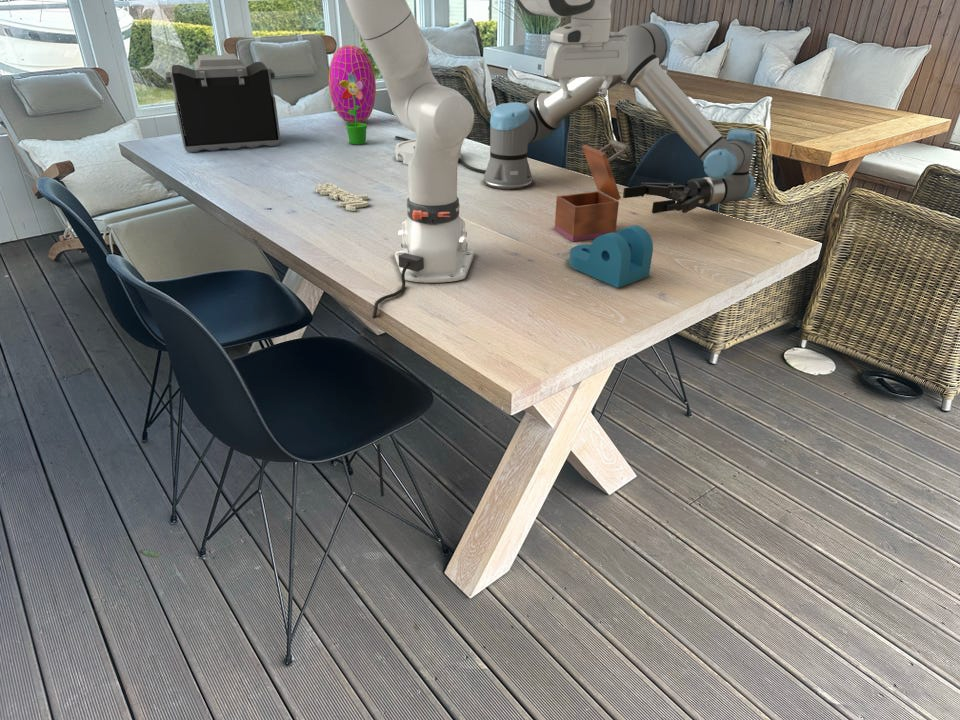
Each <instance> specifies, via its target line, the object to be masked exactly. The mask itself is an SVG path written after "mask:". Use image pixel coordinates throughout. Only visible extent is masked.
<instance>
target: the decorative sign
mask: <svg viewBox="0 0 960 720" xmlns="http://www.w3.org/2000/svg"><path fill="white" fill-rule="evenodd" d="M317 186H318V187H316V188H315V192H316V193H319V194H320V196H321V195H322V196H323V195H324V196H326V195H327V196H328V195H329V198H330V199H332V200H333V199H334V200H335V201H338V200H341V201H339V202H338V205H339V207H345V210H346V211H350V212H356V211H357V209H358V208H364V207H365V208H366V207H368V206H369V201H367V200H369V195H368V194H353V193H350V192H349V191H348V190H345V189H344V188H343V189H342V187H339V186H338V185H336V184H333V183H332V182H325V183H324V184H322V183H319V184H317Z"/></svg>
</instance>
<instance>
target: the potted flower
mask: <svg viewBox="0 0 960 720" xmlns="http://www.w3.org/2000/svg"><path fill="white" fill-rule="evenodd" d="M348 78H349V81H346V80H342V81H341V82H340V83H339V84H340V85H341V86H342V87H343V88H346V89H347V90H345V91H344V93H343V94H342V97H341V99H348V98H350V97H351V96H352V95H353V100H354V110H349V111H348V112H349V114H351V115H355V123H349V122H348V123H347V124H346V125H345V128H346V131H347V136H348V141H349V144H352V145H363V144H366V143H367V129H368V124H367V123H366V122H365V123H364V122H361V123H357V116H356V110H358V109H359V106H356V103H355V95H356V97H357V98H358V99H359V100H362V98H363V93H362V92H361V91H360V90H361V89H363V84H362V82H361V81H358V82H357V83H356V78H355V76H354V75H352V74H350V73H348Z"/></svg>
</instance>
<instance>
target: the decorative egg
mask: <svg viewBox="0 0 960 720" xmlns="http://www.w3.org/2000/svg"><path fill="white" fill-rule="evenodd" d="M348 73H350V74H352V75H354V76H355V78H356V83H357V82H358V81H361V82H362V84H363V89H361V90H360V91H361V92H362V93H363V98H362V100H359V99H358V98H357V97H356V95H355V103H356V106H359V109H358V110H356V116H357V123H364V122H365V121H366V120H368V118H369V117H370V116H371V114H372V112H373V111H374V106H375V103H376V102H375V101H376V96H377V95H376V94H377V83H376V82H377V81H376V75H375V71H374V68H373V63H372V62H371V60H370V57H369V56H368V54H367V53H366V51H365V50H363V48H361V47H359V46H357V45H353V44H352V45H351V44H348V45H343V46H340V47H338V48H337V49H336V51H334V53H333V56H332V57H331V61H330V63H329V69H328V90H329V96H330V99H331V103H332V105H333V108H334V110H335V111H336V113H337V114H338V116H339V118H341V119H342V120H343V121H344V122H346V123H348V124H349V123H355V115H351V114H349V112H348V111H349V110H354V100H353V95H352V96H351V97H350V98H348V99H341V97H342V94H343V93H344V91H345V90H347V89H346V88H343V87H342V86H341V85H340V84H339V83H340V82H341V81H342V80H346V81H349V78H348Z"/></svg>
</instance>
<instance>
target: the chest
mask: <svg viewBox="0 0 960 720" xmlns="http://www.w3.org/2000/svg"><path fill="white" fill-rule="evenodd" d="M555 201H556V202H555V217H554V230H555V231H556V232H558V233H559V234H560V235H562V236H564V237H565V238H567V239H568V240H570V241H571V242H578V241H586V240H592V239H593V240H594V239H595V238H597V237H598V236H601V235H604V234H608V233H612V232H613V233H617V222H618V214H619V204H620V201H619V200H616V199H614V198H612V197H610V196H608V195H606V194H605V193H603V192H601V191H599V190H595V191H588V192H580V193H572V194H563V195H556V199H555Z"/></svg>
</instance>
